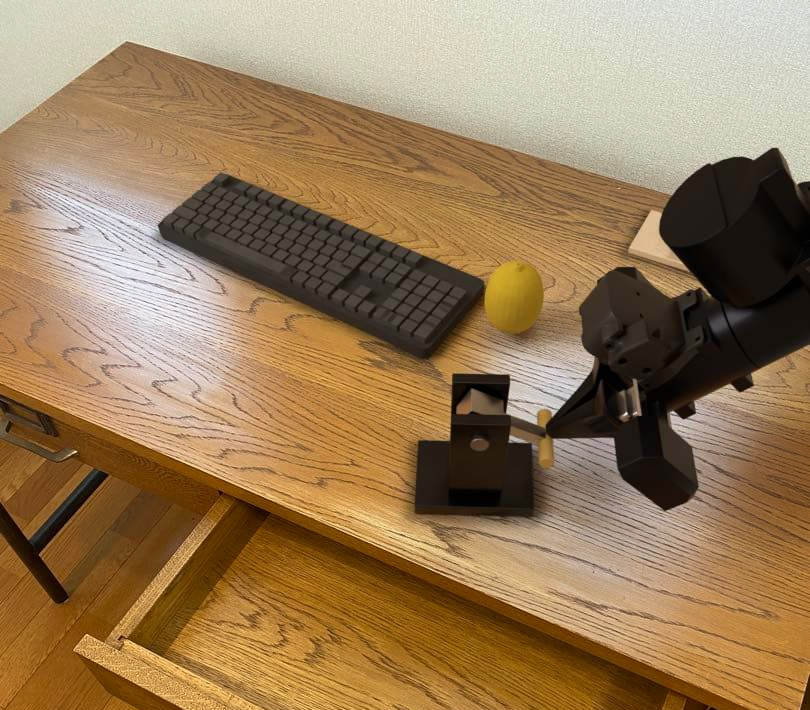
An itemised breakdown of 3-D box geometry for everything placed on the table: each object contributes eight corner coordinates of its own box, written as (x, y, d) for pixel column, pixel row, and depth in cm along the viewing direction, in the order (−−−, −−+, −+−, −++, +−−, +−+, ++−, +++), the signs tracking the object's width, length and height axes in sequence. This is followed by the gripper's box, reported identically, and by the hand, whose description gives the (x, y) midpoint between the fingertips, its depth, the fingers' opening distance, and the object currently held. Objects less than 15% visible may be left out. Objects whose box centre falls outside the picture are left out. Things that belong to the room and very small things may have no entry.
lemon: (471, 337, 74) (476, 270, 67) (500, 303, 76) (506, 236, 69) (520, 358, 72) (530, 293, 65) (548, 324, 74) (560, 257, 67)
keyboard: (485, 291, 77) (487, 275, 75) (426, 360, 72) (426, 345, 70) (225, 182, 87) (220, 166, 86) (158, 236, 83) (153, 220, 81)
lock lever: (542, 424, 61) (559, 407, 60) (544, 473, 59) (562, 457, 57) (456, 392, 59) (471, 374, 57) (455, 443, 56) (471, 425, 54)
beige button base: (740, 241, 80) (748, 221, 77) (720, 281, 76) (729, 261, 74) (649, 215, 82) (655, 194, 80) (627, 252, 79) (633, 232, 77)
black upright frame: (530, 450, 66) (546, 364, 57) (532, 517, 63) (550, 437, 53) (418, 448, 67) (416, 362, 58) (414, 513, 63) (411, 433, 54)
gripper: (659, 159, 48) (480, 291, 59) (700, 373, 39) (478, 487, 49) (740, 260, 55) (565, 364, 65) (792, 466, 45) (579, 550, 55)
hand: (548, 432), depth 58 cm, fingers closed, pressing on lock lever
